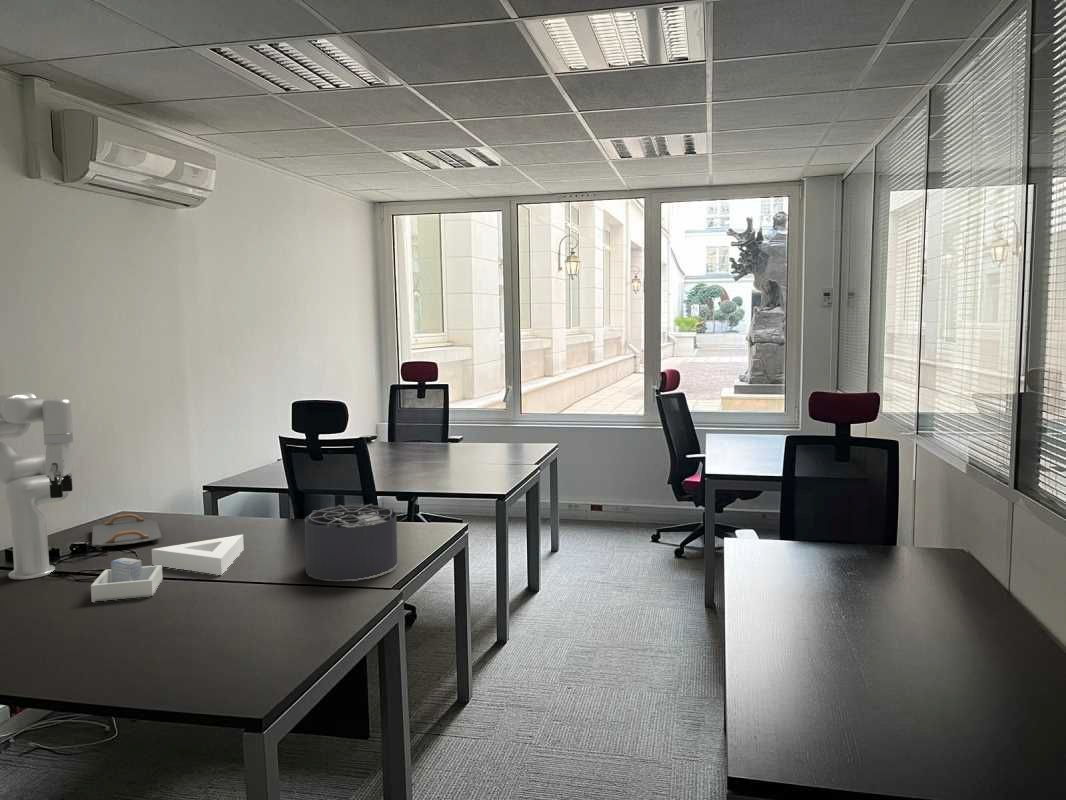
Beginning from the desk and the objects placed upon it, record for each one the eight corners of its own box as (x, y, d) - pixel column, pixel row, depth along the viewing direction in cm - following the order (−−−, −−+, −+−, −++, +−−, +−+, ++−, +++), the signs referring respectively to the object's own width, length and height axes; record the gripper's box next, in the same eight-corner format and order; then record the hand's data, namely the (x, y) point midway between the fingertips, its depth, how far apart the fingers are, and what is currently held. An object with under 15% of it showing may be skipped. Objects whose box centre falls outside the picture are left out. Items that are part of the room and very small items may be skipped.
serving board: (92, 531, 304) (91, 516, 303) (156, 524, 315) (156, 509, 315) (91, 555, 270) (90, 538, 270) (164, 546, 282) (163, 529, 281)
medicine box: (143, 587, 230) (142, 559, 230) (130, 592, 226) (129, 563, 225) (124, 584, 233) (123, 557, 233) (111, 589, 229) (110, 561, 228)
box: (105, 585, 235) (105, 569, 235) (162, 580, 240) (161, 564, 239) (91, 602, 220) (90, 585, 220) (152, 597, 225) (151, 580, 224)
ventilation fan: (412, 505, 261) (370, 526, 232) (413, 558, 263) (372, 585, 234) (333, 500, 269) (284, 520, 240) (335, 552, 271) (286, 578, 242)
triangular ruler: (152, 567, 255) (151, 549, 255) (211, 547, 279) (210, 530, 279) (221, 577, 244) (221, 558, 244) (277, 556, 268) (276, 538, 268)
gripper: (53, 436, 240) (56, 489, 242) (34, 443, 224) (38, 501, 225) (80, 435, 242) (83, 488, 244) (63, 442, 226) (67, 499, 227)
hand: (61, 494), depth 234 cm, fingers open, 9 cm apart
